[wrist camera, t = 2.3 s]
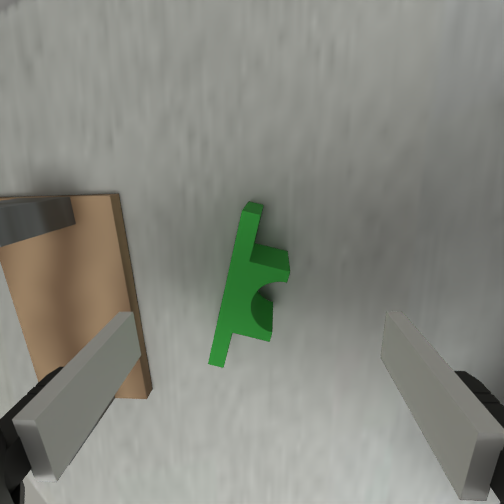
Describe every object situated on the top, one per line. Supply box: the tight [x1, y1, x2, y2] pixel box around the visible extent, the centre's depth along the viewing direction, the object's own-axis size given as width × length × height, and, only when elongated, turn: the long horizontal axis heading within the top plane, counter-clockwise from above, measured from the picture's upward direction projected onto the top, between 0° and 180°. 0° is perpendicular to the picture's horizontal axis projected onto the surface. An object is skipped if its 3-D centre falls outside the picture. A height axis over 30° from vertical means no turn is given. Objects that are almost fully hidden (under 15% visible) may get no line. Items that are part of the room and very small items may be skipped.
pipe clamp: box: [208, 202, 290, 368], centre depth 20 cm, size 11×4×5 cm, turn 167°
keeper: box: [0, 194, 152, 465], centre depth 20 cm, size 10×18×8 cm, turn 2°
